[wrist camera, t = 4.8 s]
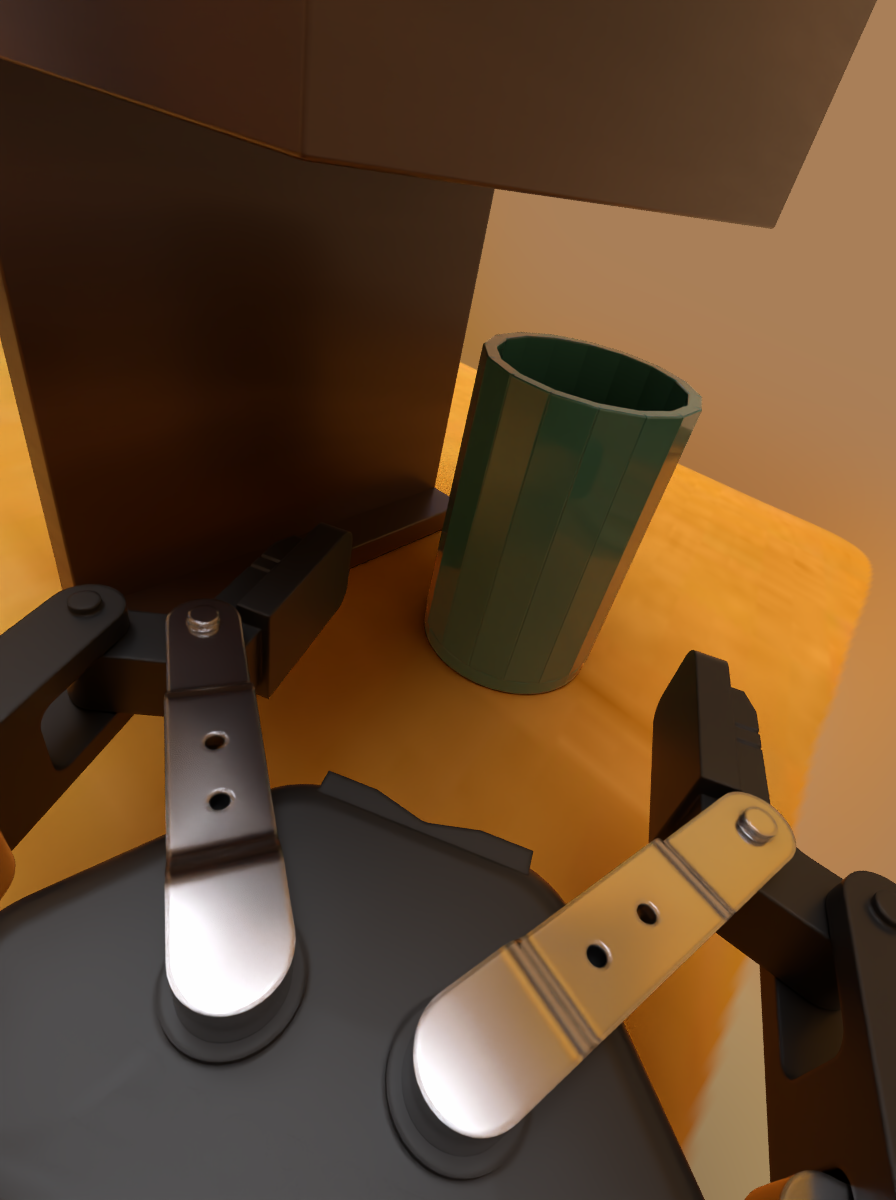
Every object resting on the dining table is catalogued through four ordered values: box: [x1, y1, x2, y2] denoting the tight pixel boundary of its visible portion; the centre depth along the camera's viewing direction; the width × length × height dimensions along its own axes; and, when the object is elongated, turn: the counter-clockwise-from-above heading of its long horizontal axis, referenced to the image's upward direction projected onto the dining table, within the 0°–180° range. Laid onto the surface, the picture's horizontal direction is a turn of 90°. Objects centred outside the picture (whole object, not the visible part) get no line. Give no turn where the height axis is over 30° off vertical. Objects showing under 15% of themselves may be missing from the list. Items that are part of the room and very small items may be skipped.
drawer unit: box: [0, 0, 877, 614], centre depth 17 cm, size 11×18×21 cm, turn 138°
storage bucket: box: [424, 332, 702, 694], centre depth 20 cm, size 6×6×10 cm
